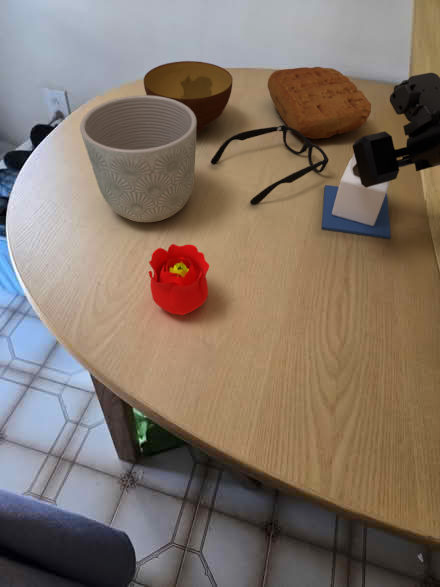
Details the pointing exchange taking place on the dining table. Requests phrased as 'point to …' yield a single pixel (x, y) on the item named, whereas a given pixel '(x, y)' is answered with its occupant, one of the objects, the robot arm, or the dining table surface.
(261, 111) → the dining table surface
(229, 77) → the bowl
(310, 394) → the dining table surface
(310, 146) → the glasses
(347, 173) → the medicine bottle
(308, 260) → the dining table surface
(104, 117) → the planter
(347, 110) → the clay tablet
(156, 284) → the flower
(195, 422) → the dining table surface
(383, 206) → the towel
